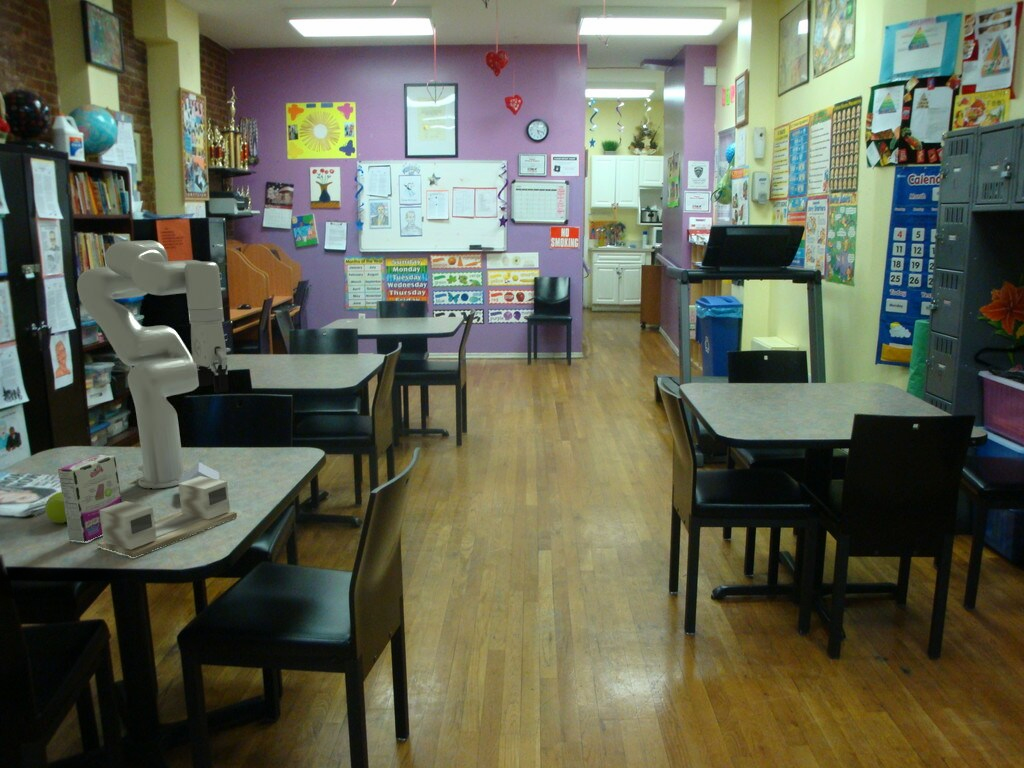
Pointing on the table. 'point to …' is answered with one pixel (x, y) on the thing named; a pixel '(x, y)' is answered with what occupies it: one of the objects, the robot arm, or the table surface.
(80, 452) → the table surface
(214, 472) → the white angular piece
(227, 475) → the table surface
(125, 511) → the rail board
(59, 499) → the tennis ball
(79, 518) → the candy bar box
